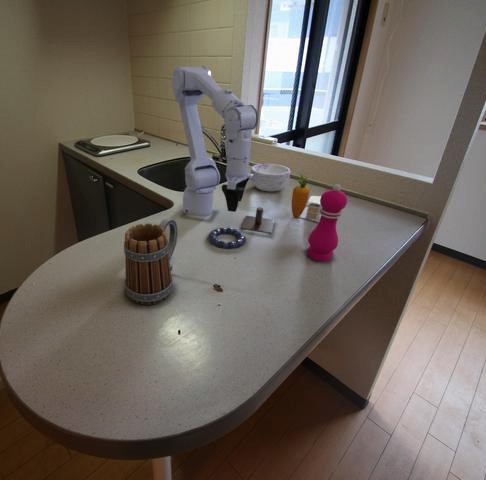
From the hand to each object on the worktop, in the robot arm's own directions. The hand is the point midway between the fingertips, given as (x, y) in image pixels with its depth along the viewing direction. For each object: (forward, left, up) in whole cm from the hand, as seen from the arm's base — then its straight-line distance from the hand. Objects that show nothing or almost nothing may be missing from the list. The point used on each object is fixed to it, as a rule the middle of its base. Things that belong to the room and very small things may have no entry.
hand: (234, 205), depth 88 cm
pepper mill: (+24, -2, -10) cm, 26 cm away
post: (+6, +8, -10) cm, 14 cm away
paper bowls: (+5, +44, -10) cm, 45 cm away
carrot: (+17, +18, -10) cm, 27 cm away
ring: (-1, -4, -9) cm, 10 cm away
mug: (-12, -28, -10) cm, 32 cm away
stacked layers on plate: (+23, +24, -10) cm, 35 cm away
